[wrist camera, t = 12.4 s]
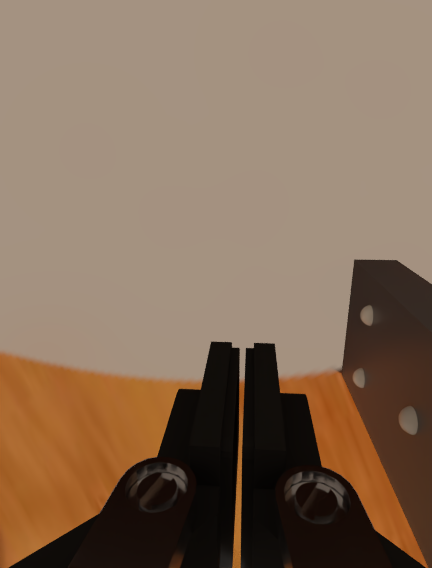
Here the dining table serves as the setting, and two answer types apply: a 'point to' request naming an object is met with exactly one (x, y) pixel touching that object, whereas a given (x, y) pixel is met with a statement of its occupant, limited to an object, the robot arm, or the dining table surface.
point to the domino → (395, 380)
